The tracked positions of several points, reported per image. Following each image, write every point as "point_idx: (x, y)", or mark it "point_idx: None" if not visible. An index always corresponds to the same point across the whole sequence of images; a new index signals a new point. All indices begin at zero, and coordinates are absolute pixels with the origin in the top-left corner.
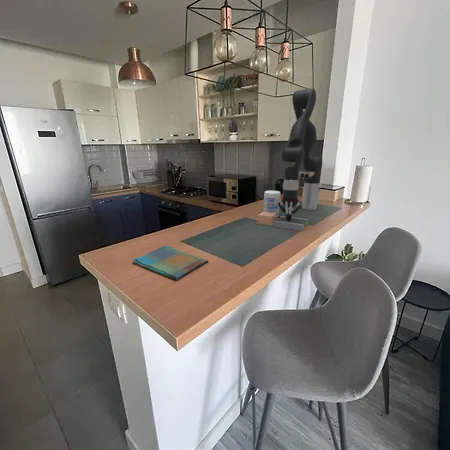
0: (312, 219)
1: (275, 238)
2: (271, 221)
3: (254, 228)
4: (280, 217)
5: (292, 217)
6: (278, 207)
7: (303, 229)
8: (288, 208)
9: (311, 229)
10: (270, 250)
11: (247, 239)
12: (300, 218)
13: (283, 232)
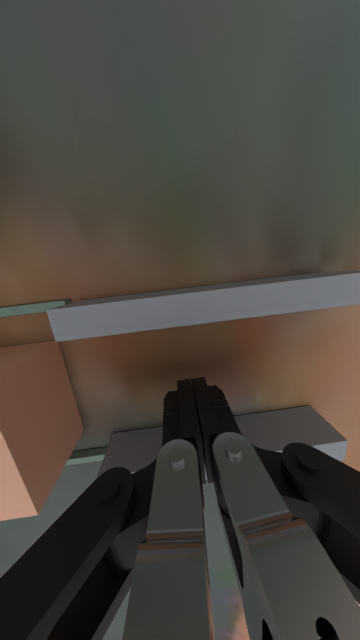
0: (347, 31)
1: (209, 564)
2: (66, 458)
3: (37, 527)
4: (69, 337)
5: (196, 296)
6: None
7: (314, 415)
8: (212, 630)
9: (355, 363)
10: (237, 634)
11: (112, 622)
12: (288, 285)
13: (212, 493)
